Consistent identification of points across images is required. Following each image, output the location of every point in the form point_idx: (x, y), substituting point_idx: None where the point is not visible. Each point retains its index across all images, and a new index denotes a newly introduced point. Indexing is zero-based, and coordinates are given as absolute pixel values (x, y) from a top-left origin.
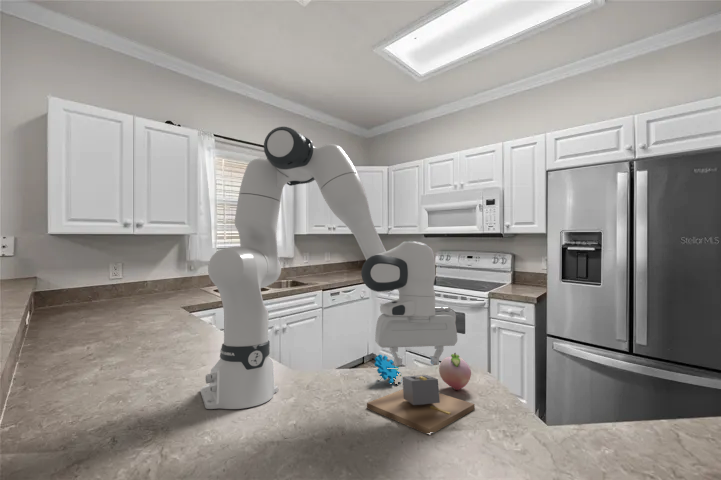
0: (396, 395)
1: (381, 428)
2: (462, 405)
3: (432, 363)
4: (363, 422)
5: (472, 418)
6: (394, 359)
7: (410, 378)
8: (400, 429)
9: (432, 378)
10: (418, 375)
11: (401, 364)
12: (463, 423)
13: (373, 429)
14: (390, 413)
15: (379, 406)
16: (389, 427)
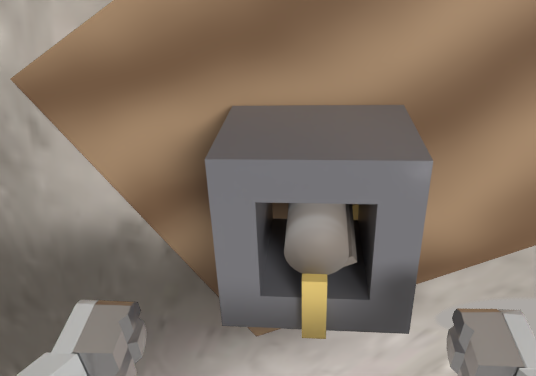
0: (208, 1)
1: (101, 251)
2: (526, 222)
3: (451, 341)
4: (28, 199)
5: (498, 267)
6: (62, 345)
7: (241, 250)
8: (170, 271)
9: (389, 303)
10: (351, 164)
11: (136, 353)
12: (428, 288)
13: (71, 251)
14: (137, 208)
15: (85, 139)
16: (132, 252)
